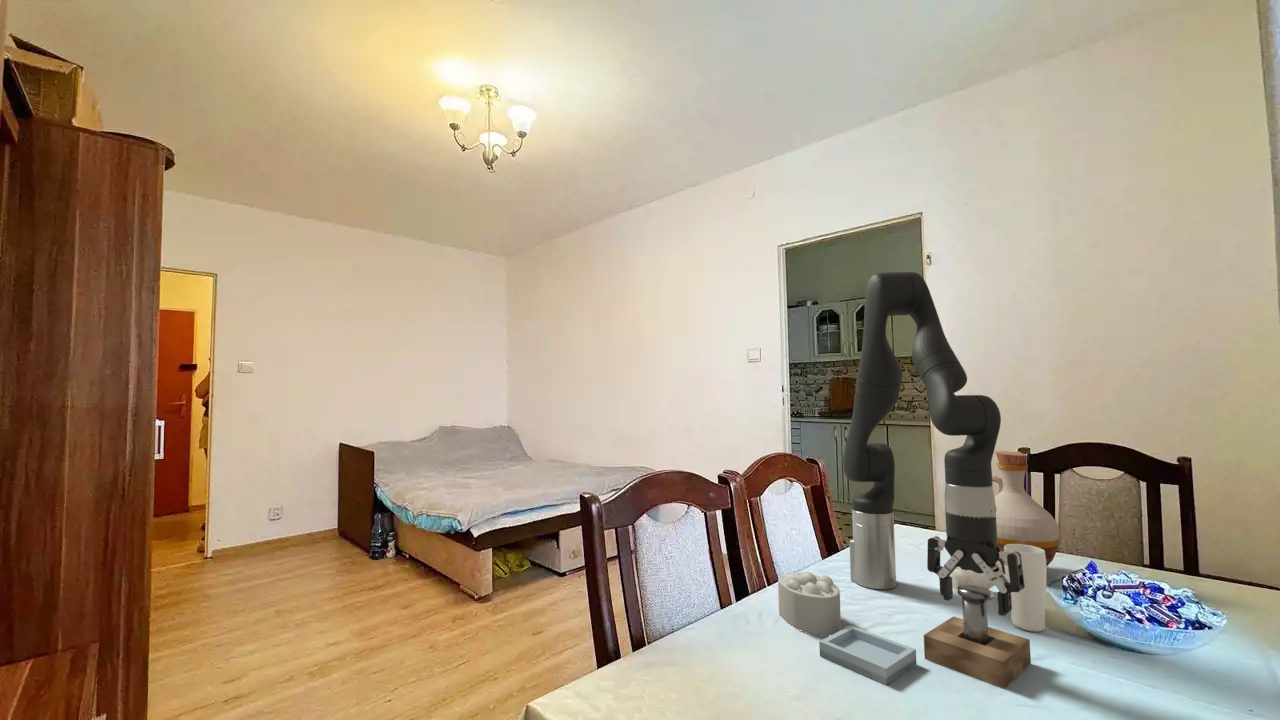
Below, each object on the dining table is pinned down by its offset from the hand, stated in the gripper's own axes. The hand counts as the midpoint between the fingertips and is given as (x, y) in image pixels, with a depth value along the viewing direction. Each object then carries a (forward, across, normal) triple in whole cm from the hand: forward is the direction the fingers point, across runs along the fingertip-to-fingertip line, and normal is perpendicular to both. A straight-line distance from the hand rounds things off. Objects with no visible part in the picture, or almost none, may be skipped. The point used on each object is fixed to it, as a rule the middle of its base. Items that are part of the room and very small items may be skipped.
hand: (975, 606), depth 92 cm
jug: (+9, -12, +56) cm, 58 cm away
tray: (+9, -12, -14) cm, 21 cm away
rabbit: (+9, -12, +32) cm, 36 cm away
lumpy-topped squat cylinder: (+9, -27, -8) cm, 30 cm away
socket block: (+9, 0, 0) cm, 9 cm away
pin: (+9, 0, 0) cm, 9 cm away
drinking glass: (+9, +1, +22) cm, 24 cm away
